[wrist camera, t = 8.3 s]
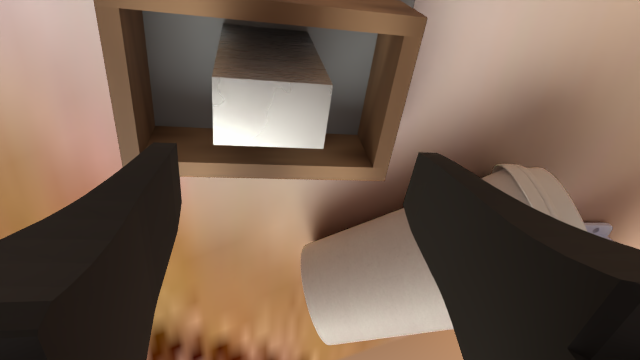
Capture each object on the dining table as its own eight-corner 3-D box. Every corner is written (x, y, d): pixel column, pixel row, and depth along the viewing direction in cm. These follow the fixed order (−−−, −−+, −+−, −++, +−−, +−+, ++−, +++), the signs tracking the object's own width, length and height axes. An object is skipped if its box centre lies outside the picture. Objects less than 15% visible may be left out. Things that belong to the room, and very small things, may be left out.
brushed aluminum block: (222, 23, 18) (211, 76, 13) (307, 31, 19) (333, 85, 14) (223, 103, 21) (214, 179, 15) (299, 107, 21) (318, 181, 16)
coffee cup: (342, 408, 23) (616, 355, 21) (280, 283, 20) (600, 198, 17) (342, 298, 32) (535, 250, 29) (300, 198, 29) (513, 132, 26)
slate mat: (417, -26, 19) (420, -25, 19) (373, 160, 25) (375, 164, 24) (96, -68, 16) (93, -67, 16) (131, 153, 22) (129, 156, 22)
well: (400, 0, 19) (427, 17, 16) (367, 147, 24) (384, 180, 21) (117, -33, 17) (90, -19, 14) (140, 138, 21) (124, 175, 18)
